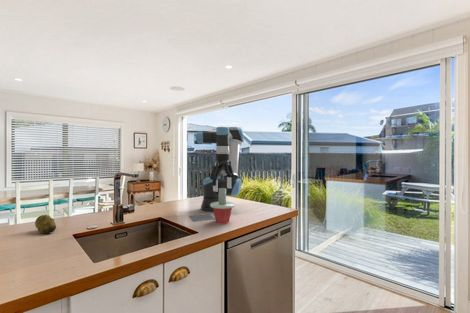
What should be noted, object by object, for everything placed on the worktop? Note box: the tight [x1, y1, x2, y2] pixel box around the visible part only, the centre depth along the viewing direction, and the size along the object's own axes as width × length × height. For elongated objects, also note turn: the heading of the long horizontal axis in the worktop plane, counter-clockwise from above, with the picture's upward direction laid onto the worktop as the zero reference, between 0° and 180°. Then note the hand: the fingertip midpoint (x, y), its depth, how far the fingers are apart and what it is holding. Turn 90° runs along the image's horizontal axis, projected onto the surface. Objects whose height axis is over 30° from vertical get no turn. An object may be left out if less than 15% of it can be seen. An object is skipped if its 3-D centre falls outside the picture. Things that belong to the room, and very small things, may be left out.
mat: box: [188, 213, 216, 222], centre depth 156 cm, size 14×14×1 cm
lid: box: [210, 188, 235, 209], centre depth 147 cm, size 14×14×10 cm
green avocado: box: [34, 214, 57, 234], centre depth 128 cm, size 8×13×8 cm, turn 39°
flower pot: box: [213, 207, 233, 225], centre depth 147 cm, size 11×11×10 cm
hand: (222, 189), depth 147 cm, fingers open, 13 cm apart
